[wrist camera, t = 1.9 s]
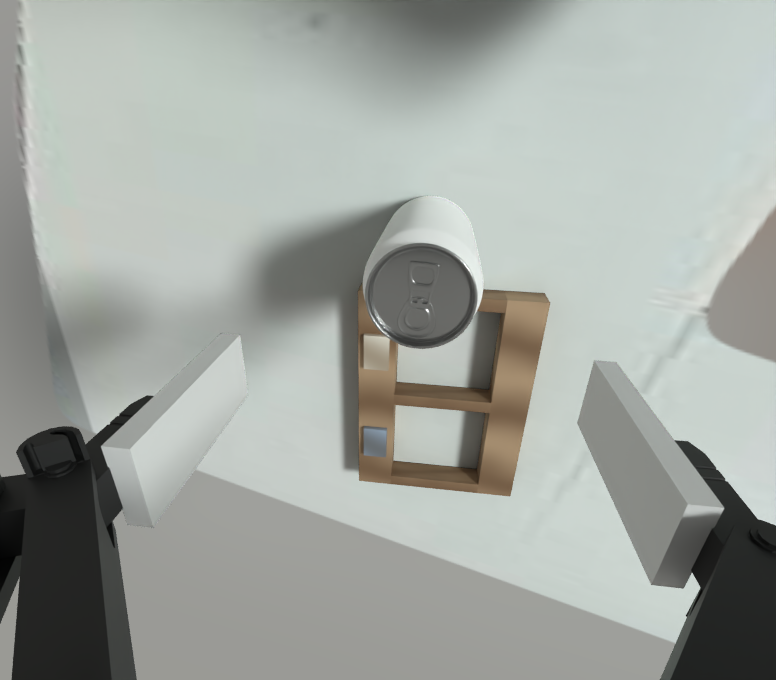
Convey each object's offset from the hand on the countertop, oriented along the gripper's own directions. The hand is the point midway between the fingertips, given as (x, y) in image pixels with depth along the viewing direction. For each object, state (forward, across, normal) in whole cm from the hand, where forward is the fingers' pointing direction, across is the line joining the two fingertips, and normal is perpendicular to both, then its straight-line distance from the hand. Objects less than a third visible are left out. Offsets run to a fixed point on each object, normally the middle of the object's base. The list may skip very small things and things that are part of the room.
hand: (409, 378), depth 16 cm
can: (+18, 0, +1) cm, 19 cm away
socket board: (+18, +2, -12) cm, 22 cm away
